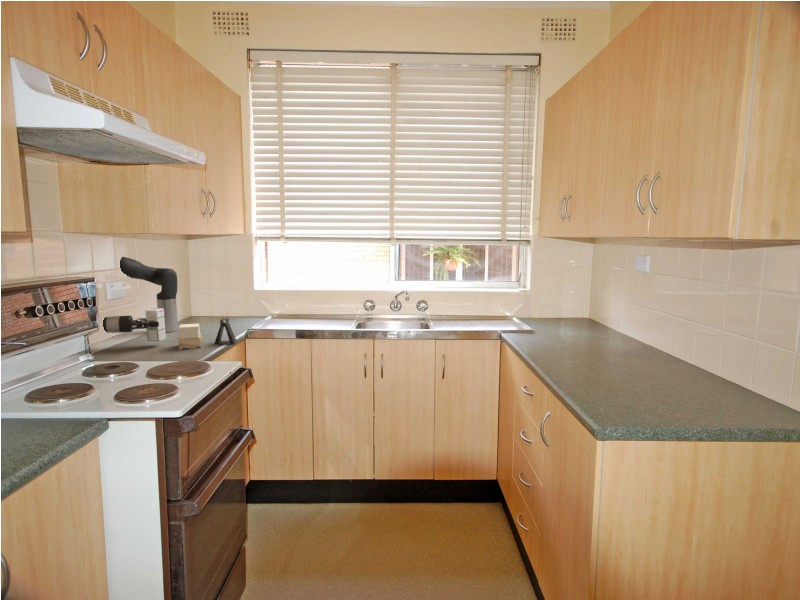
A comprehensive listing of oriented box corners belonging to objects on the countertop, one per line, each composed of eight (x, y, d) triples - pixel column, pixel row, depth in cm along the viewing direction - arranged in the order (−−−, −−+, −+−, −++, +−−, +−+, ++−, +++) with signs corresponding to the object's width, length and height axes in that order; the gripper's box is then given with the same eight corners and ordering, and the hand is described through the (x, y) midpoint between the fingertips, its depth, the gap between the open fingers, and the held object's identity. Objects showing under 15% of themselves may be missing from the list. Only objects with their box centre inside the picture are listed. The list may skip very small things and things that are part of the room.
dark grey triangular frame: (214, 344, 224) (213, 319, 222) (216, 341, 230) (215, 317, 228) (234, 344, 226) (233, 318, 224) (236, 341, 231) (235, 316, 230)
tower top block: (181, 335, 222) (180, 324, 221) (199, 334, 225) (199, 323, 224) (179, 338, 214) (178, 327, 214) (198, 337, 217) (198, 326, 216)
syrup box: (166, 338, 223) (164, 307, 221) (158, 341, 217) (156, 309, 215) (154, 338, 224) (152, 307, 222) (146, 341, 218) (144, 309, 216)
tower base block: (181, 345, 223) (180, 334, 223) (202, 344, 226) (201, 333, 225) (178, 349, 215) (178, 338, 214) (200, 348, 218) (200, 337, 217)
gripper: (115, 318, 208) (157, 317, 213) (123, 313, 221) (162, 311, 226) (116, 335, 209) (158, 333, 214) (124, 329, 222) (163, 327, 227)
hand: (160, 322), depth 220 cm, fingers closed on syrup box, 7 cm apart
